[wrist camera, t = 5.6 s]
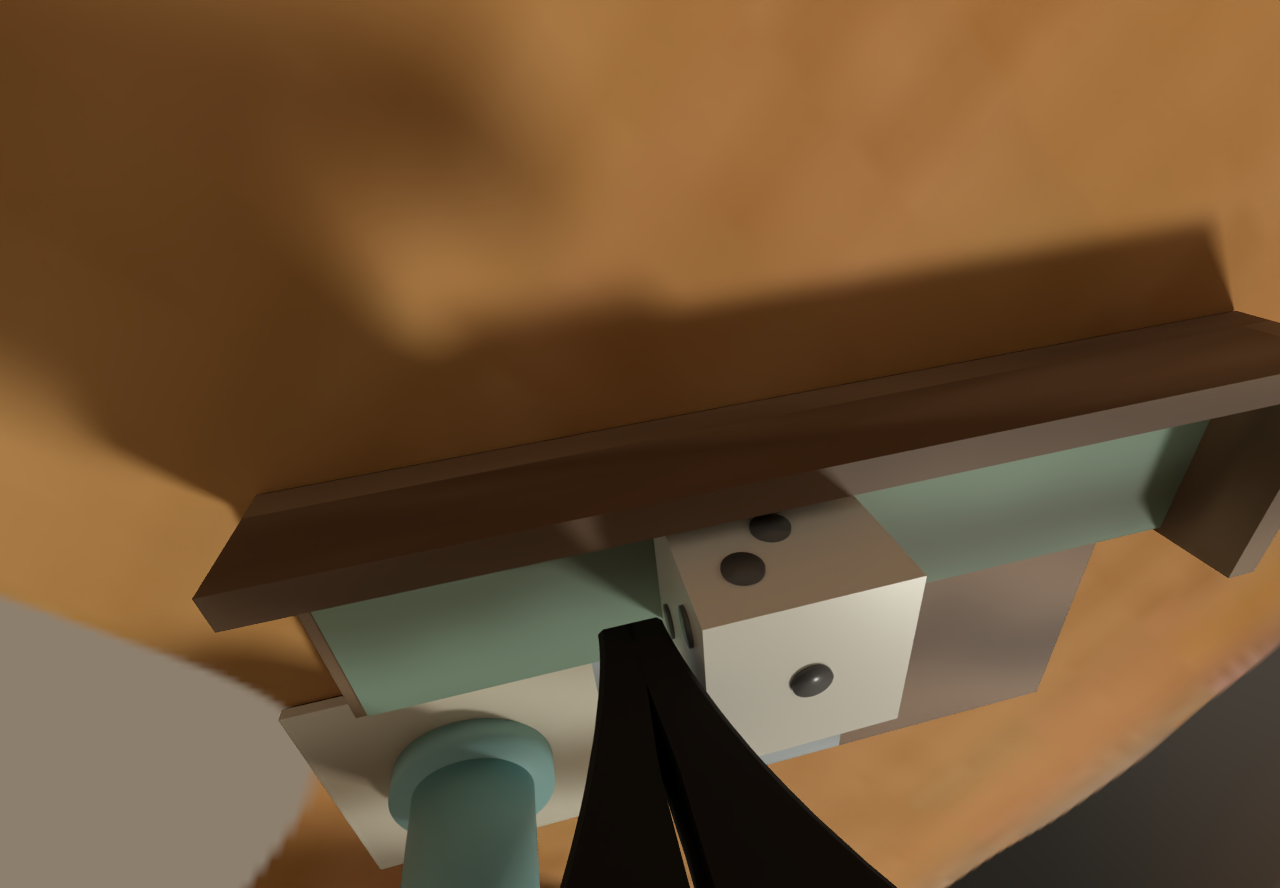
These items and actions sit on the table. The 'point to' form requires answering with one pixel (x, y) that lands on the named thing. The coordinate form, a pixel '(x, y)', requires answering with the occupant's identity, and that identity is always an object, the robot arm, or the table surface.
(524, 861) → the pawn
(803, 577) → the die
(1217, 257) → the table surface
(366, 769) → the track
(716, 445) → the dice tray
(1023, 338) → the table surface
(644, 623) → the robot arm
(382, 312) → the table surface
